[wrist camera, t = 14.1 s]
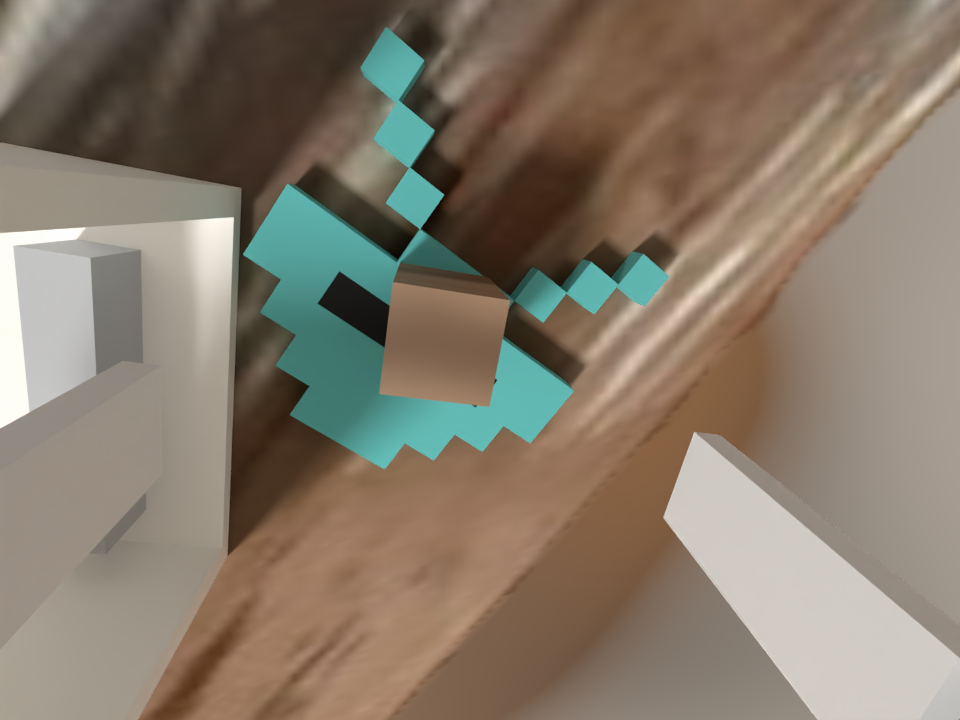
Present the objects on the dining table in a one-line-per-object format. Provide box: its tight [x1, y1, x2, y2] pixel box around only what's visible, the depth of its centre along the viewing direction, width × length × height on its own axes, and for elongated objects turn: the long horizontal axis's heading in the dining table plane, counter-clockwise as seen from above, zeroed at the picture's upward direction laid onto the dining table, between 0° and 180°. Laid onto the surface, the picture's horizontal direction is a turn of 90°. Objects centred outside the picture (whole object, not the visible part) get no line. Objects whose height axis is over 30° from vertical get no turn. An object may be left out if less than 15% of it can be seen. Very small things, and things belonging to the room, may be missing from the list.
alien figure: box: [243, 27, 669, 469], centre depth 28 cm, size 20×2×20 cm
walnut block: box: [379, 263, 510, 407], centre depth 24 cm, size 5×5×7 cm
